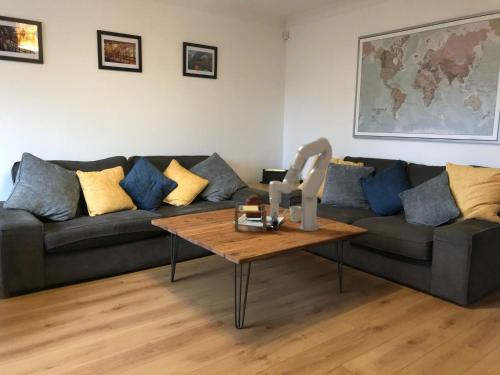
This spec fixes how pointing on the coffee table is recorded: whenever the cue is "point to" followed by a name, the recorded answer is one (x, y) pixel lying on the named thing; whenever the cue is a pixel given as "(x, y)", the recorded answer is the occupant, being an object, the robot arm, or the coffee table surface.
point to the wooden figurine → (253, 201)
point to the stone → (272, 223)
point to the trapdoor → (248, 208)
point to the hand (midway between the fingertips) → (274, 225)
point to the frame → (247, 228)
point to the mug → (294, 213)
